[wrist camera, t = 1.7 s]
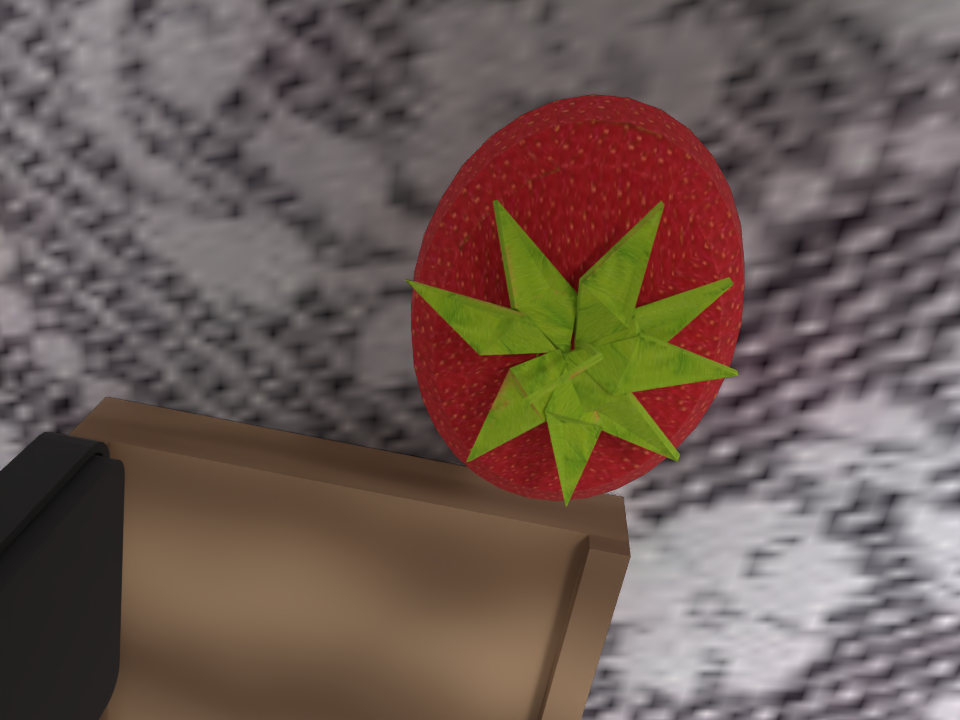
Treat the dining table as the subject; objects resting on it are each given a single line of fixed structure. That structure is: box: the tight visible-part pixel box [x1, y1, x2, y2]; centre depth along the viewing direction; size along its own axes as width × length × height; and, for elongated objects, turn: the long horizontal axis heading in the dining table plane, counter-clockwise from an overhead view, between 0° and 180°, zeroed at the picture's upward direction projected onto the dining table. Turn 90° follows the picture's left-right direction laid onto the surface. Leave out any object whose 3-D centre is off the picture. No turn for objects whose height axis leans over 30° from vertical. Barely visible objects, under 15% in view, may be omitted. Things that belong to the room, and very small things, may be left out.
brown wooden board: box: [69, 397, 631, 720], centre depth 26 cm, size 14×14×3 cm
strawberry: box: [405, 95, 744, 507], centre depth 17 cm, size 6×8×10 cm
